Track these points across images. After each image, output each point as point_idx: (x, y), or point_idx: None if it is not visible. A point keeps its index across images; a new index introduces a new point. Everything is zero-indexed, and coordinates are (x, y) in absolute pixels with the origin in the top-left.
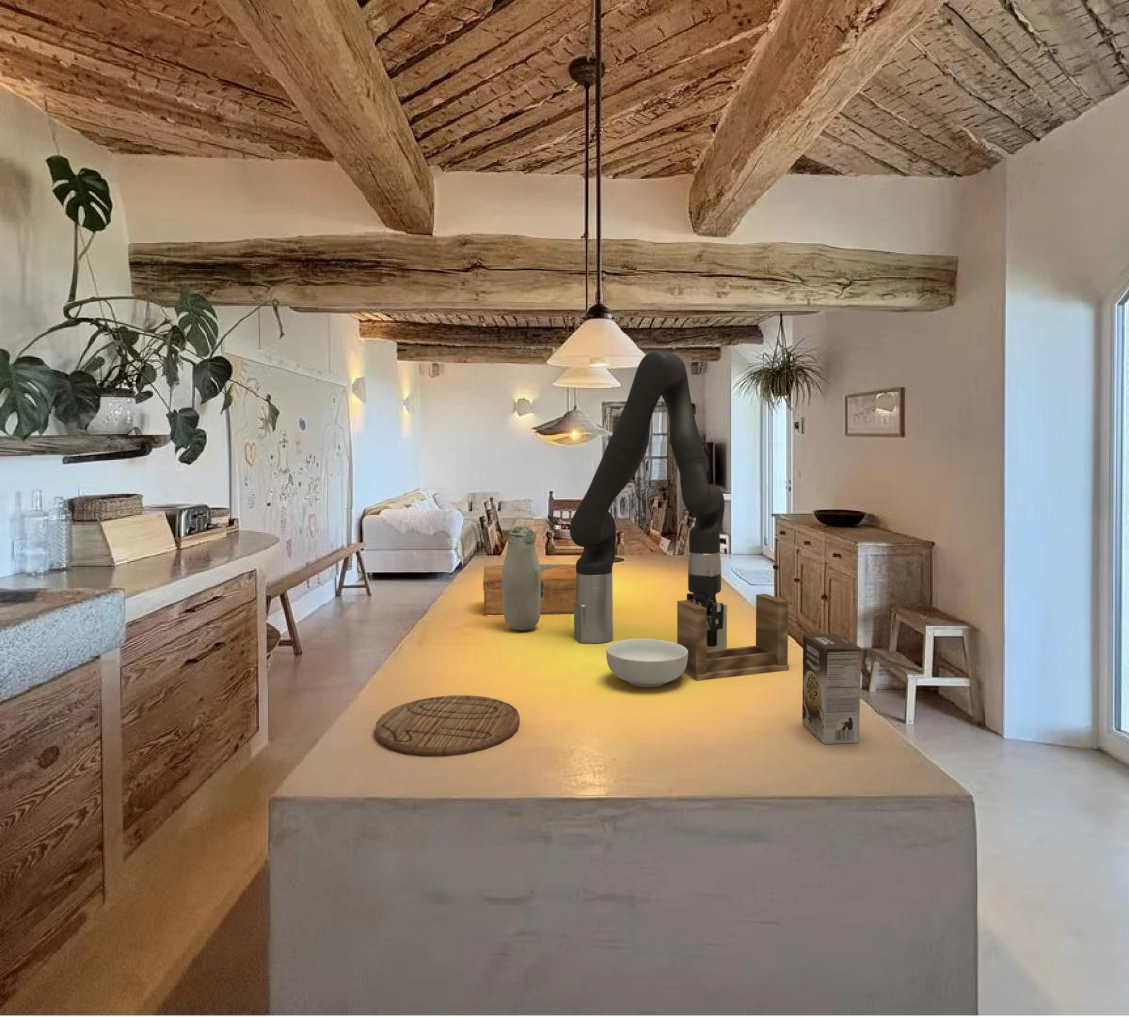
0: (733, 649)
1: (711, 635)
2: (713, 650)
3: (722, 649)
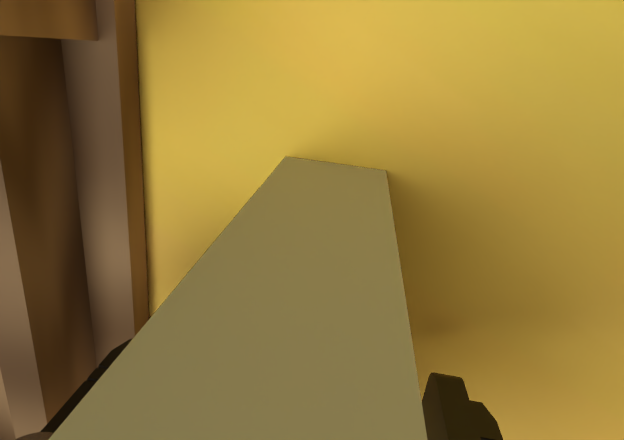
0: (8, 397)
1: (67, 403)
2: (10, 271)
3: (25, 342)
